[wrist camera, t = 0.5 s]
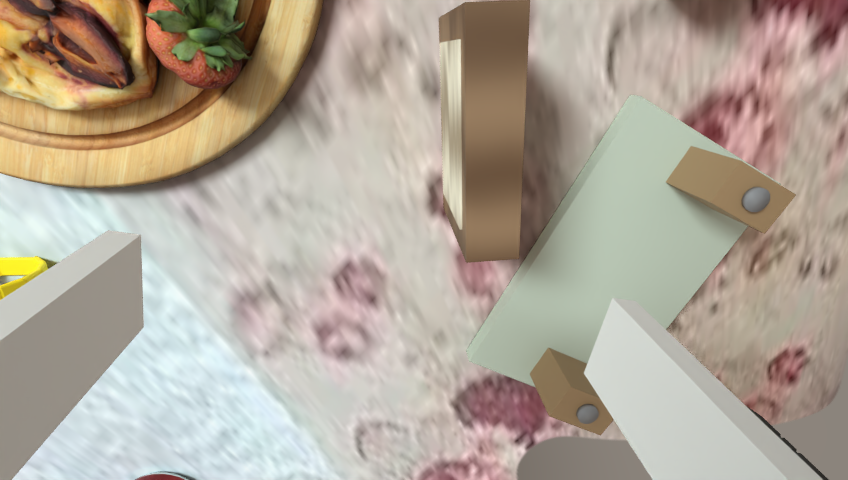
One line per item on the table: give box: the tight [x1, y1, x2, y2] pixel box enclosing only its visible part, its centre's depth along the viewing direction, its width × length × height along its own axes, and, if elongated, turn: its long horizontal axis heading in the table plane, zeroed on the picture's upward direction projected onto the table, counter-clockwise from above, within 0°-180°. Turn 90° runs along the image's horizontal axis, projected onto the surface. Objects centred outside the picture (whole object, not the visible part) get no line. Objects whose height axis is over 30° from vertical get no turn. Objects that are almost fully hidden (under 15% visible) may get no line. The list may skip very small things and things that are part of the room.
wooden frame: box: [439, 0, 530, 263], centre depth 28 cm, size 13×3×10 cm, turn 2°
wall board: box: [466, 95, 796, 435], centre depth 35 cm, size 24×14×7 cm, turn 152°
